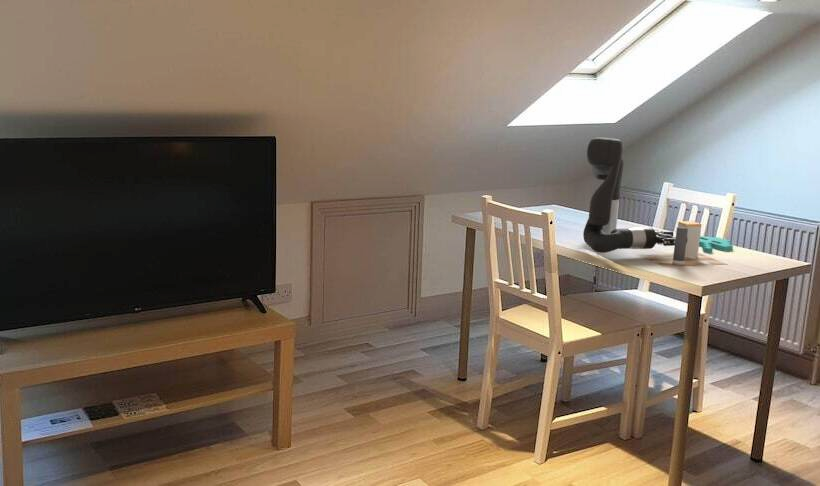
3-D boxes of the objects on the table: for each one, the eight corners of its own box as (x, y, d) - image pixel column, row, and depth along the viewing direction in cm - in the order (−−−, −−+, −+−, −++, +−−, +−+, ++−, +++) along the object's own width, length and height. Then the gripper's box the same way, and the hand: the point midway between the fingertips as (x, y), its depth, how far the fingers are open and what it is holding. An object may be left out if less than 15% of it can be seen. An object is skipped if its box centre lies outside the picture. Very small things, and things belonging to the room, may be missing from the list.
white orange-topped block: (674, 253, 293) (678, 221, 290) (689, 253, 294) (693, 221, 292) (682, 257, 288) (686, 224, 285) (697, 256, 290) (701, 224, 287)
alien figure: (707, 254, 303) (743, 250, 313) (708, 248, 302) (744, 244, 312) (667, 242, 320) (702, 239, 330) (667, 237, 319) (703, 233, 329)
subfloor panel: (636, 258, 290) (637, 254, 289) (698, 256, 296) (698, 252, 296) (663, 270, 274) (664, 266, 273) (727, 268, 280) (728, 264, 280)
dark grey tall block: (670, 262, 279) (674, 227, 276) (679, 262, 280) (684, 226, 277) (676, 265, 275) (680, 229, 272) (686, 265, 276) (690, 229, 273)
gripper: (651, 232, 277) (693, 231, 281) (629, 223, 290) (669, 222, 295) (649, 253, 279) (690, 252, 283) (627, 244, 292) (666, 243, 296)
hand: (679, 237), depth 289 cm, fingers open, 8 cm apart
